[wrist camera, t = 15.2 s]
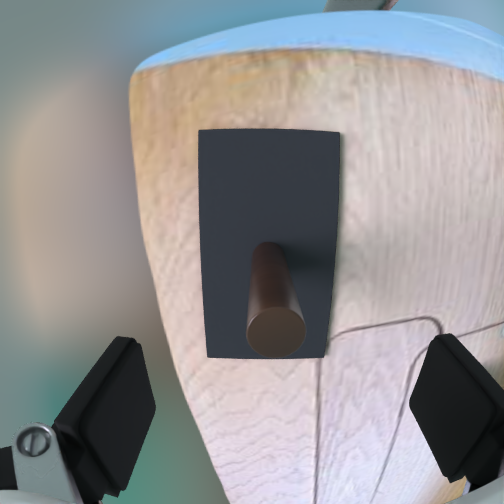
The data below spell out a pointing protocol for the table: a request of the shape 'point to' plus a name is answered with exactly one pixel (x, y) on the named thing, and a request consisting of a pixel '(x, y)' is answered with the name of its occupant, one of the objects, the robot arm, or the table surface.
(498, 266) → the table surface
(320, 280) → the felt mat
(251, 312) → the walnut stick
